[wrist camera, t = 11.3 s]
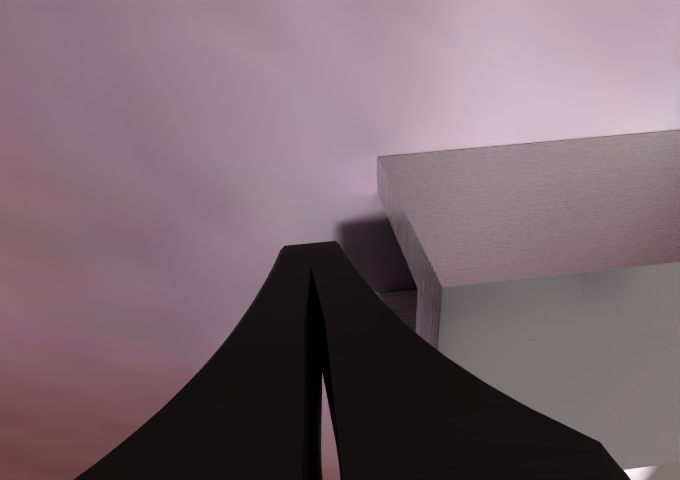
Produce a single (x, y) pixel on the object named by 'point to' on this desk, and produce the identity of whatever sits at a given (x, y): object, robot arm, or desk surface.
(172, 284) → the desk surface
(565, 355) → the lock
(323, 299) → the robot arm
